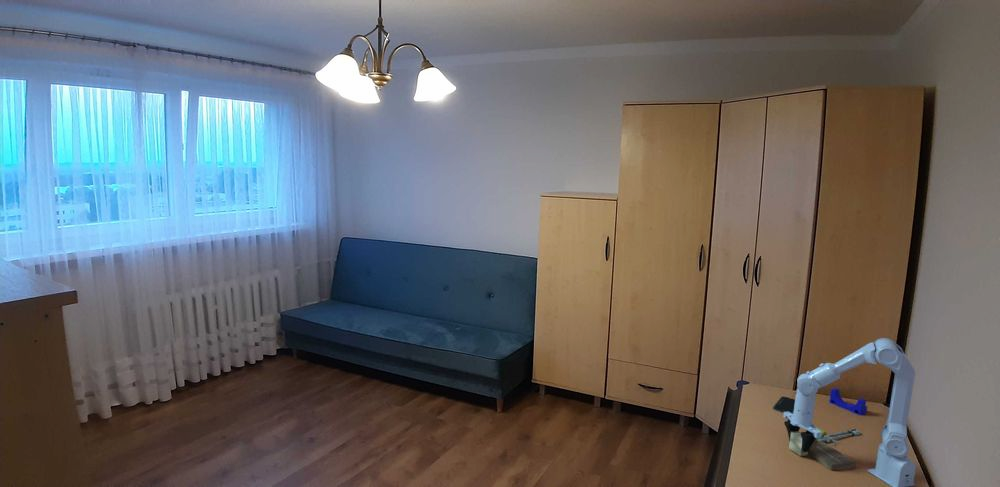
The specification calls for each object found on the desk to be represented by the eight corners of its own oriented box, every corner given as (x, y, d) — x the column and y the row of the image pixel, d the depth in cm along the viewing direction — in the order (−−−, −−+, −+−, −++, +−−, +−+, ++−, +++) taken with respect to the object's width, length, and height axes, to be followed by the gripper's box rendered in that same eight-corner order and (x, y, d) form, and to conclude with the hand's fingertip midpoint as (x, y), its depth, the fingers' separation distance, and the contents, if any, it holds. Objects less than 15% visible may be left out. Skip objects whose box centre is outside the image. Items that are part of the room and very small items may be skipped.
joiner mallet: (821, 453, 179) (823, 437, 178) (800, 456, 177) (802, 439, 176) (809, 445, 183) (811, 429, 182) (788, 448, 181) (791, 431, 180)
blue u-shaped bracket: (866, 413, 210) (868, 399, 209) (859, 415, 208) (861, 401, 207) (835, 400, 221) (837, 387, 220) (829, 402, 219) (831, 389, 218)
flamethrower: (785, 436, 189) (810, 452, 180) (786, 430, 189) (812, 445, 180) (839, 425, 201) (865, 439, 192) (840, 418, 200) (867, 432, 191)
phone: (803, 401, 217) (794, 414, 206) (802, 404, 217) (793, 416, 206) (782, 395, 222) (772, 407, 211) (781, 398, 222) (771, 410, 211)
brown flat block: (853, 467, 171) (854, 461, 171) (831, 470, 169) (831, 464, 169) (821, 446, 184) (822, 440, 184) (799, 448, 182) (800, 442, 182)
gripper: (777, 400, 183) (773, 436, 185) (811, 421, 169) (805, 459, 171) (794, 399, 185) (790, 435, 187) (829, 419, 171) (823, 457, 173)
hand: (798, 446), depth 179 cm, fingers closed on joiner mallet, 5 cm apart
